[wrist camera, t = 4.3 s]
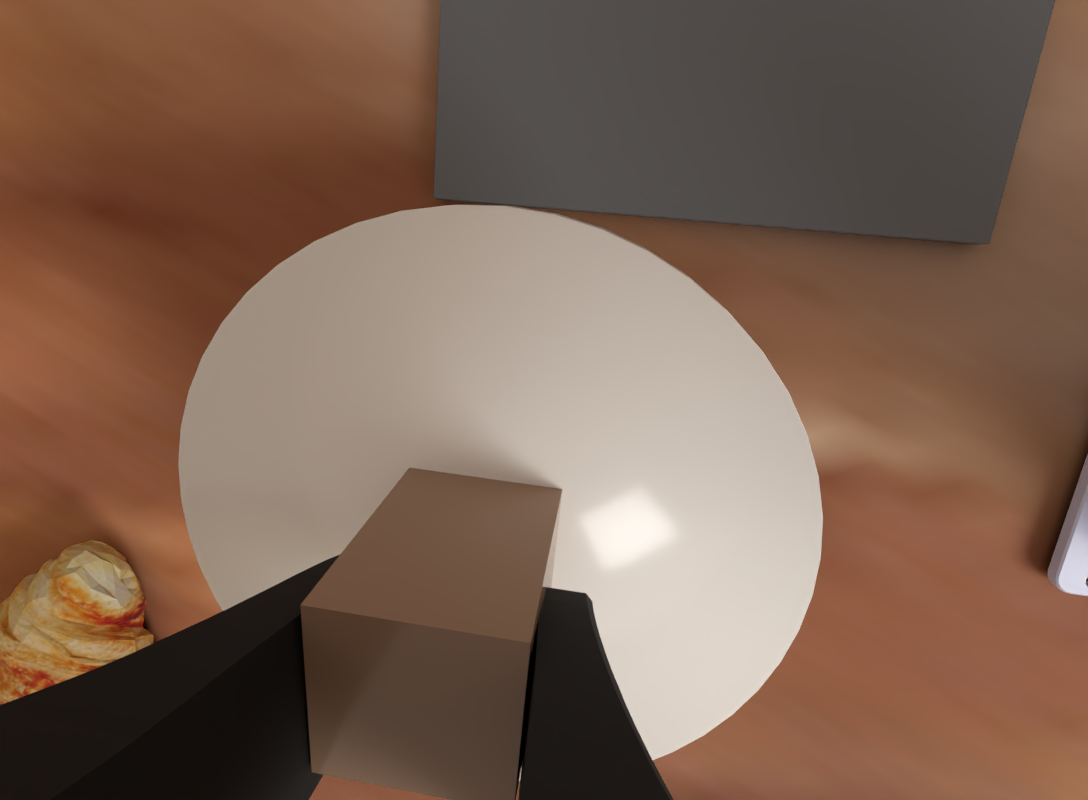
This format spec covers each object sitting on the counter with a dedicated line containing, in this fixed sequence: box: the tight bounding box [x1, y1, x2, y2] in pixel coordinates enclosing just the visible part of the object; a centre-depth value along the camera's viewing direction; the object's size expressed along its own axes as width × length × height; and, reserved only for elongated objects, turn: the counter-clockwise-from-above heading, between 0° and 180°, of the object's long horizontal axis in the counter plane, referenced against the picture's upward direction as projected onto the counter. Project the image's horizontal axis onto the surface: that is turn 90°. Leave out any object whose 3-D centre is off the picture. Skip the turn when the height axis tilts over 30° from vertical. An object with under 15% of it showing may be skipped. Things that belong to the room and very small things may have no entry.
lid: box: [178, 205, 823, 800], centre depth 9 cm, size 11×11×4 cm
